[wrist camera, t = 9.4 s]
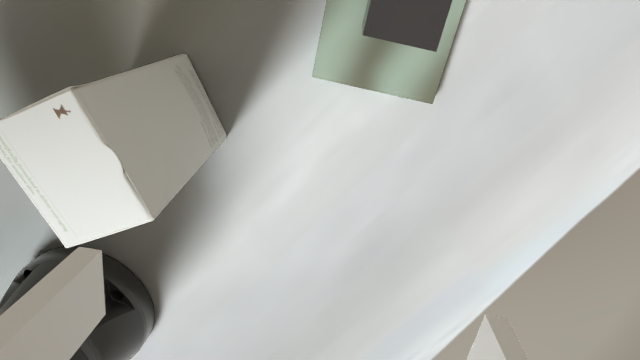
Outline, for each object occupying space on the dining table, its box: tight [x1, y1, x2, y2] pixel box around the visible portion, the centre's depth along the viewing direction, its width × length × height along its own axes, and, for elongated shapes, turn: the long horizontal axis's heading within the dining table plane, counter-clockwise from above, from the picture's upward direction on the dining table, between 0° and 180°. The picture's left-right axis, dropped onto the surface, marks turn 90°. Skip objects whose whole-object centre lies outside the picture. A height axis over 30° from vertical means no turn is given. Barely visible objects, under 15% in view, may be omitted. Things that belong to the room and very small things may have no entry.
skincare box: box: [0, 54, 227, 248], centre depth 29 cm, size 8×7×16 cm
